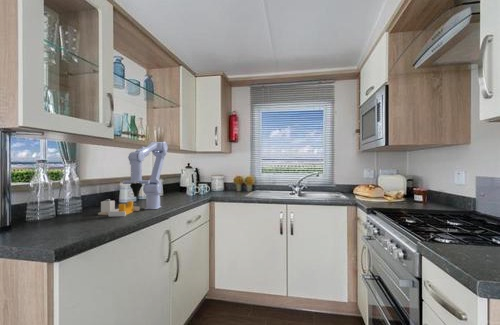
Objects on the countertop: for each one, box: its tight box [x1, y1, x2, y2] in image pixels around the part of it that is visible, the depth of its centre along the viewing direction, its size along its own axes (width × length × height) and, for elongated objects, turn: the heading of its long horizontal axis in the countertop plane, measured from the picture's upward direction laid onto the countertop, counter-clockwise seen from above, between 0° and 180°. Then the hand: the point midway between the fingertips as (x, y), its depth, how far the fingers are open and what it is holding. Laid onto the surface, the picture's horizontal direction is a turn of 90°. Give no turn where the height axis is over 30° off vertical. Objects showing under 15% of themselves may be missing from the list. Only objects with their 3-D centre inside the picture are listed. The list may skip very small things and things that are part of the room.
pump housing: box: [97, 198, 116, 216], centre depth 141 cm, size 7×7×8 cm
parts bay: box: [108, 205, 141, 218], centre depth 141 cm, size 18×9×2 cm, turn 0°
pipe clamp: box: [118, 200, 134, 216], centre depth 140 cm, size 12×4×6 cm, turn 3°
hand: (136, 196), depth 141 cm, fingers closed
